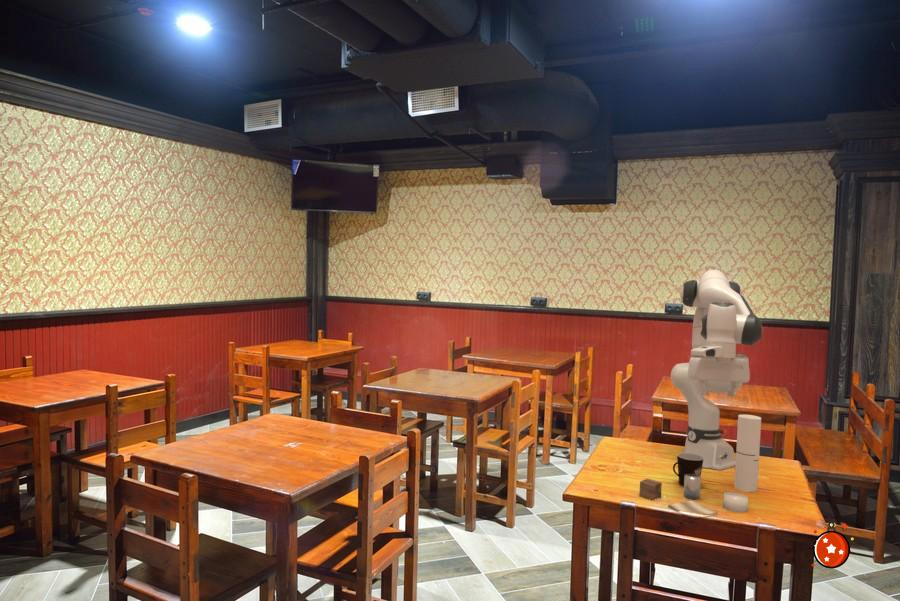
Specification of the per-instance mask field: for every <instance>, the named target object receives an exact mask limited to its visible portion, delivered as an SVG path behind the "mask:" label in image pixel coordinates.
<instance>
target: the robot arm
mask: <svg viewBox="0 0 900 601" xmlns="http://www.w3.org/2000/svg"><path fill="white" fill-rule="evenodd" d="M699 278H700V279H699V280H698V279H697V280H696V279H693V280H687V281H685V282H684V283H682V286H681V288H680V292H679V296H680V300H681V303H682V304H683V305H684V306H686V307H690V308H693V307H694V308H695V311H694V316H693V319H692V320H693V322H692V333H691V334H692V336H691V338H692V339H691V347H692V348H691V350H690V355H691V357H690V359H689V361H688V362H681V363H676V364H675V365H674V366H673V367H672V369H671V372H670V379H671V380H670V381H671V383H672V384H673V386H674V387H675V388H676V389H677V390H679V391H680V392H681V394H682V395H683V397H684V398H685V400H686V403H687V409H688V422H687V423H688V424H686V439H685V444H684V448H683V449H684V450H683V453H692V454H696V455H700V456H702V457H703V458H704V459H703V465H702V469H703V468H706V469H714V470H720V471H722V470H726V469H729V468H732V467H735V466H736V457H735V451H734V448H733V446H732V445H731V444H729V443H728V442H727V441H726V440H725V439H724V438H723V435H727V429H724V428H720V412H721V411H720V408H719V407H718V405H716V404H715V403H714V402H712V401H711V400H708V399H707V398H705V396H709V395H710V393H713V394H714V393H715V394H727V397H733V398H734V397H736V393H737V392H739V391H740V390H741V388H742V386H743V384H747V383H749V382H750V379H751V376H750V375H751V372H750V366H749V365H750V364H749V363H750V362H749V361H750V360H749V357H748V356H747V355H745V354H744V353H737V351H736V349H737V344H738V345H743V346H744V345H746V346H753V345H755V344H756V343H758V342H759V341H760V340H761V338H762V335H763V324H762V321H761V319H760V318H759V317H758V316H757V315H756V314H755V312H754V311H753V309H752V308H751V306H750V304H749V303H748V302H747V300H746V298H745V297H744V296H743V295H742V293H743V292H742V289H741V286H740V284H739V283H737V282H735V281H729V280H728V278H727V276H726V275H725V273H723V272H722V271H720V270H718V269H709V270H706V271H704V272H703V273H702V274H701V276H700V277H699ZM722 434H723V435H722Z"/></svg>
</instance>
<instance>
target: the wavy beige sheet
mask: <svg viewBox="0 0 900 601" xmlns="http://www.w3.org/2000/svg"><path fill="white" fill-rule="evenodd" d="M667 508H669V509H671V510H673V511H675V510H677V511H683V512H690V513H697V514H703V515H714V516H716V515H715V514H717V515H718V512H717V511H715V510H713V509H712V508H709V507H707V506H704V505H703V504H700V503H698V502H696V501H695V500H687V501H682V502H675V503H670V504H668V505H667ZM677 511H676V512H677Z"/></svg>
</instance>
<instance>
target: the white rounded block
mask: <svg viewBox="0 0 900 601" xmlns="http://www.w3.org/2000/svg"><path fill="white" fill-rule="evenodd" d="M722 504H723V505H722V508H723V509H725V510H727V511H729V512H732V513H741V514H743V513H747V512H748V511H749V497H748V496H747V495H746V494H743V493H739V492H732V491H727V492H724V493H723V502H722Z"/></svg>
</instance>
